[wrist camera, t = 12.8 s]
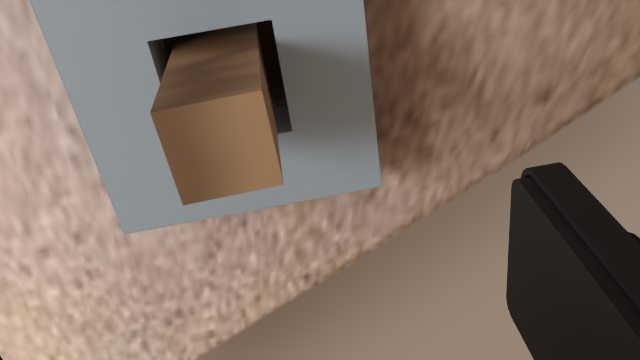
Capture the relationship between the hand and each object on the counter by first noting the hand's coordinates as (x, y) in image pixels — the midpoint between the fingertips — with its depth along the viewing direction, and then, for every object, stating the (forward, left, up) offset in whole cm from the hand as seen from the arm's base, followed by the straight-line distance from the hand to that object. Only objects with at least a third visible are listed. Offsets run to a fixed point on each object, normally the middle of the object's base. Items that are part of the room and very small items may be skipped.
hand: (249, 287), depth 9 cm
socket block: (+2, +3, -21) cm, 22 cm away
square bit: (+2, +3, -21) cm, 22 cm away
